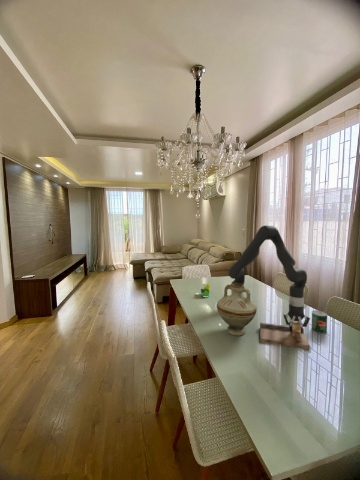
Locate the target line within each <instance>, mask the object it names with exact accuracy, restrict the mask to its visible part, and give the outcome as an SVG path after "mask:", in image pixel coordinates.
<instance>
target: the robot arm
mask: <svg viewBox="0 0 360 480" xmlns="http://www.w3.org/2000/svg"><path fill="white" fill-rule="evenodd" d="M266 241H271V242H272V243H273V244H274V246H275V250H276V253H275V254H276V257H277V259H278V260H279V262H280V264H281V265H282V266H283V271H284V273H285V274H284V275H285V277H286V278H287V280H288V281H290V282H291V283H292V284H291V285H290V286H289V296H288V297H289V298H288V312H287V313H285V312H284V313H282V315H283V319H284V321H285V324H286V326H289V330H290V331H291V332H292V323H293V322H294V321H298V322H299V323H300V324H301V333H302V332H303V328H307V327H308V325H309V322H310V320H311V318H310V316H309V315H305V297H304V296H305V295H304V294H305V293H304V292H305V291H304V290H305V287H306V283H307V280H308V275H307V272H306V270H305V269H304V268H303V269H302V268H294V266H295V265H296V261H295V259H294V257H293V256H292V254H291V253H290V251H289V250H288V248H287V247H286V245H285V242H284V240H283V237H282V236H281V233H280V232H279V229H278V228H277V226H275V225H267V224H266V225H262V226H261V227H259V229H258V230H257V231H256V234H255V236H254V237H253V238H252V240H251V241H250V243H249V244H248V246H247V247H246V248H245V250H244V251H243V253H242V254H241V255H240V256H239V258H238V259H237V261H235V263H234V264H232V266H230V268H229V270H228V275H229V277H230V279H233V281H232V282H231V283H230V285H231V284H233V283H237V284H242V285H244V286H245V279H246V277H245V276H246V272H245V268H247V266H249V265H251V264H252V263H254V261H255V260H256V259H257V258H258V256H259V255H260V248H261V246H262V244H263V243H264V242H266ZM230 291H231V292H230V295H232V294H233V291H232V290H231V289H230ZM244 293H245V292H242V293H241V296H244ZM244 297H245V296H244ZM288 317H289V318H290V319H289V320H288ZM303 320H304V321H303ZM302 321H303V322H302Z"/></svg>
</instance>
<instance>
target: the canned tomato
mask: <svg viewBox="0 0 360 480" xmlns="http://www.w3.org/2000/svg"><path fill="white" fill-rule="evenodd" d="M311 330H312V331H313V332H314V333H316V332H317V333H316V334H320V333H321V334H327V332H328V313H327V312H325V311H323V310H312V311H311ZM321 334H320V335H321Z"/></svg>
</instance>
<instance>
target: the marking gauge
mask: <svg viewBox="0 0 360 480" xmlns="http://www.w3.org/2000/svg"><path fill="white" fill-rule="evenodd" d="M292 335H293V336H295V337H296V340H297V341H301V324H300V323H299V322H298V321H294V322H293V323H292Z"/></svg>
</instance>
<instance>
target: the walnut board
mask: <svg viewBox="0 0 360 480" xmlns="http://www.w3.org/2000/svg"><path fill="white" fill-rule="evenodd" d="M259 332H260V333H259V335H260V336H259V337H260V343H267V344H273V345H280V346H287V347H292V348H299V349H306V350H310V346H311V345H310V344H309V341H308V339H307V336H306V334H305V327H303V332H302V333H301V341H297V340H296V337H295V336H293V335H292V332H291V331H290V330H289V325H283V324H276V323H267V322H260V323H259Z"/></svg>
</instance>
